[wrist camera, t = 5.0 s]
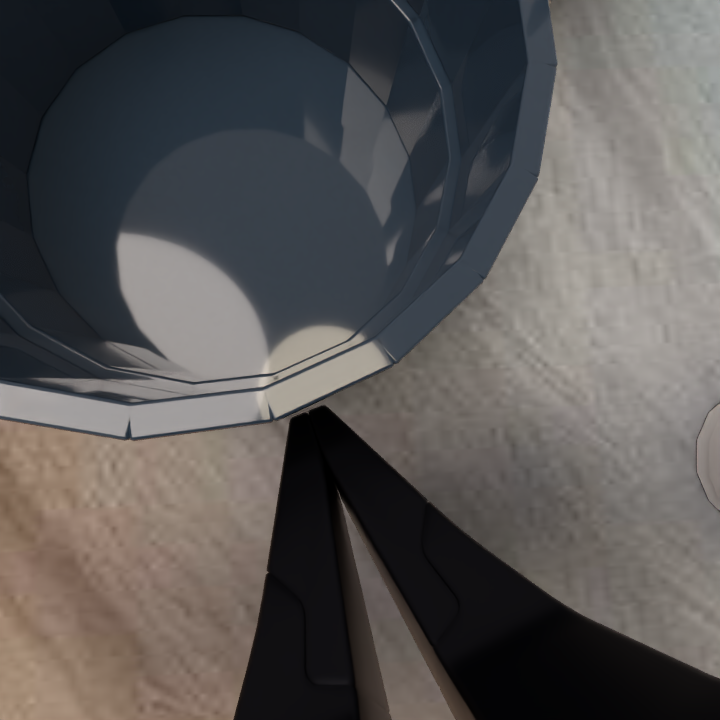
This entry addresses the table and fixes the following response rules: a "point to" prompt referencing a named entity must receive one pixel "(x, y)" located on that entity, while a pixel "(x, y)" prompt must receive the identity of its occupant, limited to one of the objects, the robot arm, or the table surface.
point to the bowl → (249, 196)
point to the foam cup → (710, 456)
